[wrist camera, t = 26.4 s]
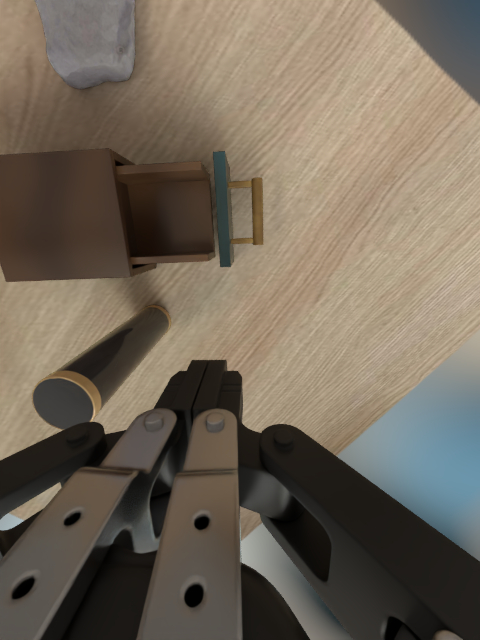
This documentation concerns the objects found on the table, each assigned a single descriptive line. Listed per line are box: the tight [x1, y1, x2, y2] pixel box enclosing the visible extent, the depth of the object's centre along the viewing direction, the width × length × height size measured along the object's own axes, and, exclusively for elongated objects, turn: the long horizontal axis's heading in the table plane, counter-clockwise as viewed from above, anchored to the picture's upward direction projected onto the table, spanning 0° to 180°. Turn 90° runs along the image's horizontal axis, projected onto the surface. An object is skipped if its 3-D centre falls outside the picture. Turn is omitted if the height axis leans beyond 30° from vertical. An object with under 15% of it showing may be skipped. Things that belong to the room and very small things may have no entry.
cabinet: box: [0, 148, 156, 282], centre depth 32 cm, size 15×13×9 cm
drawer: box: [116, 151, 263, 267], centre depth 32 cm, size 17×11×7 cm, turn 92°
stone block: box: [35, 0, 135, 89], centre depth 28 cm, size 12×5×10 cm
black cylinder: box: [32, 305, 171, 430], centre depth 30 cm, size 5×5×21 cm
